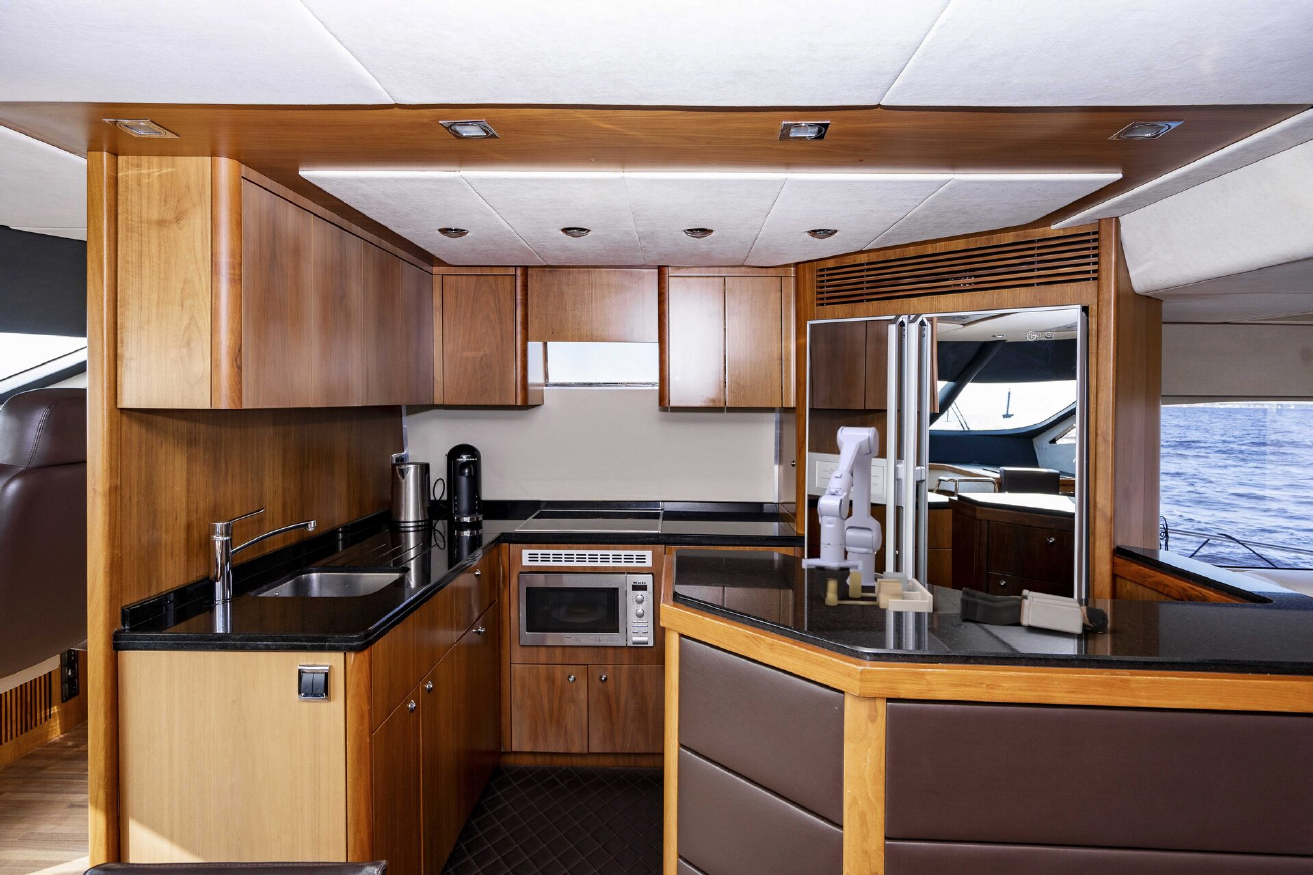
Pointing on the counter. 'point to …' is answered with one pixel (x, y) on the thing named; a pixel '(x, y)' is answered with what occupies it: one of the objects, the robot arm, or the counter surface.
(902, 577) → the grey handled block
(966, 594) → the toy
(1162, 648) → the counter surface
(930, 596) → the rack
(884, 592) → the beige long piece
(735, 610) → the counter surface
